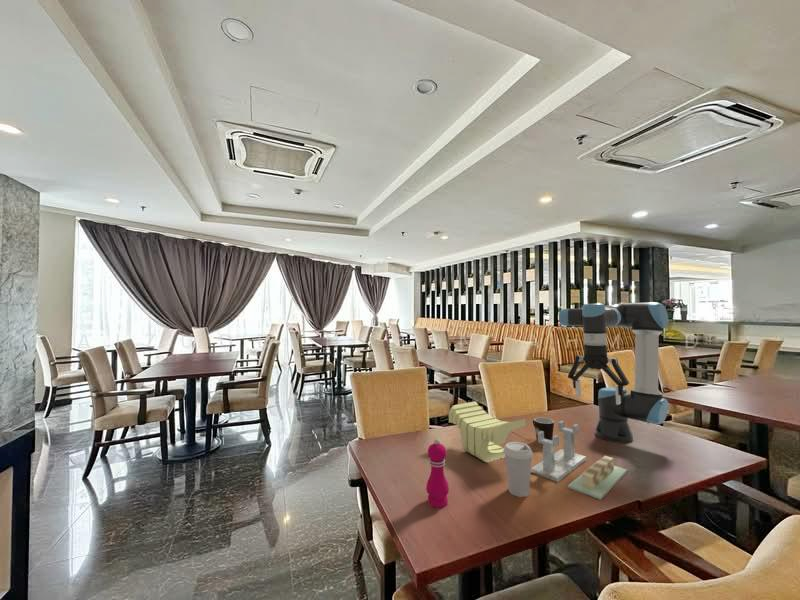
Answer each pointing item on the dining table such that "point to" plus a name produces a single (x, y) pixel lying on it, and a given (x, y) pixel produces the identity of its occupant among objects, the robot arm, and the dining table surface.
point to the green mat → (601, 487)
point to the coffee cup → (518, 468)
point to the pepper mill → (437, 476)
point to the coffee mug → (544, 427)
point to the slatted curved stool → (481, 430)
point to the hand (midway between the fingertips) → (597, 400)
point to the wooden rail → (597, 472)
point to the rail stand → (558, 455)
